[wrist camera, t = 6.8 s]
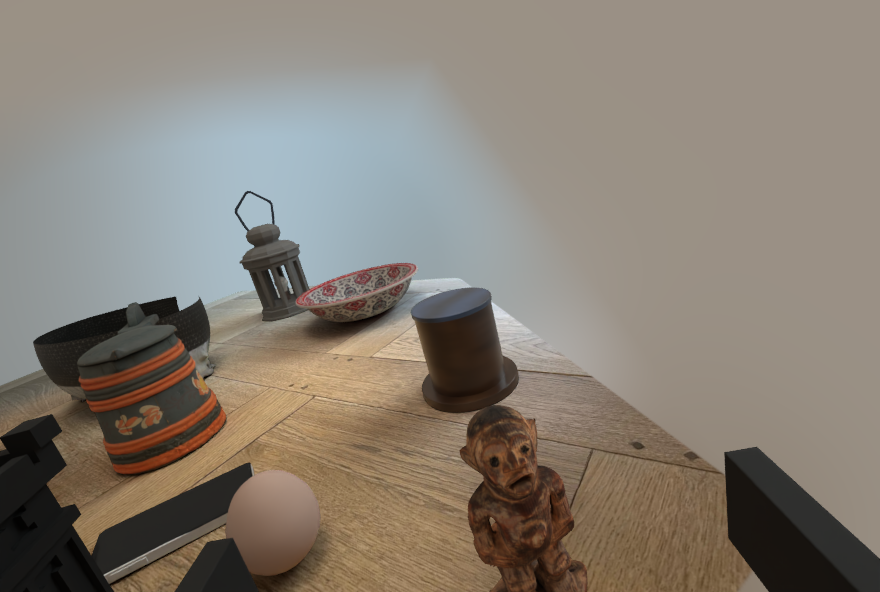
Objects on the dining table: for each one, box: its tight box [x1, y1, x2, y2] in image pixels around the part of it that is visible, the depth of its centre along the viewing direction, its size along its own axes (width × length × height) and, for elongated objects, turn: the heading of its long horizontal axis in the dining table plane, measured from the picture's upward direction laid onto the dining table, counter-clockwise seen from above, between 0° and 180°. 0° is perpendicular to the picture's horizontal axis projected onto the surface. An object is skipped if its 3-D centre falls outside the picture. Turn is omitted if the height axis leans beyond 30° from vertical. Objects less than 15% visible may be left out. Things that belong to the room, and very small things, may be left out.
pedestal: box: [411, 288, 519, 412], centre depth 54 cm, size 13×13×12 cm
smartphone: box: [92, 463, 254, 584], centre depth 43 cm, size 8×1×15 cm
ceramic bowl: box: [296, 263, 418, 322], centre depth 98 cm, size 29×29×8 cm
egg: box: [225, 470, 320, 576], centre depth 34 cm, size 7×7×8 cm
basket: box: [33, 297, 216, 402], centre depth 86 cm, size 28×35×16 cm
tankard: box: [77, 302, 226, 474], centre depth 60 cm, size 19×15×20 cm
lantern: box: [235, 191, 310, 321], centre depth 117 cm, size 17×17×35 cm
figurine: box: [460, 405, 587, 592], centre depth 23 cm, size 7×7×15 cm
